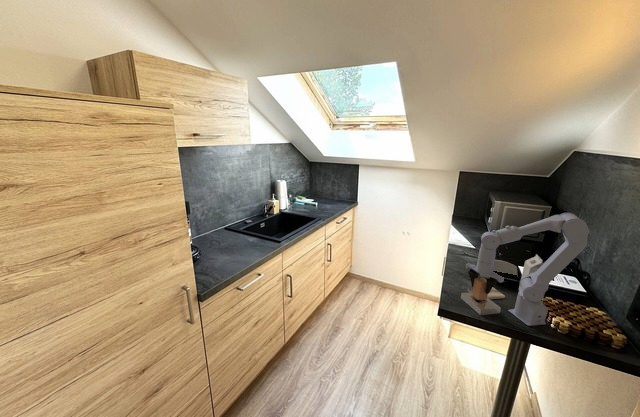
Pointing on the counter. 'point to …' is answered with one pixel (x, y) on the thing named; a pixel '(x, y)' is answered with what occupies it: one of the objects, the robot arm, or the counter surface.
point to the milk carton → (531, 266)
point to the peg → (479, 289)
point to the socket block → (480, 304)
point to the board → (495, 294)
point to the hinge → (503, 268)
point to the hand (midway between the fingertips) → (480, 289)
